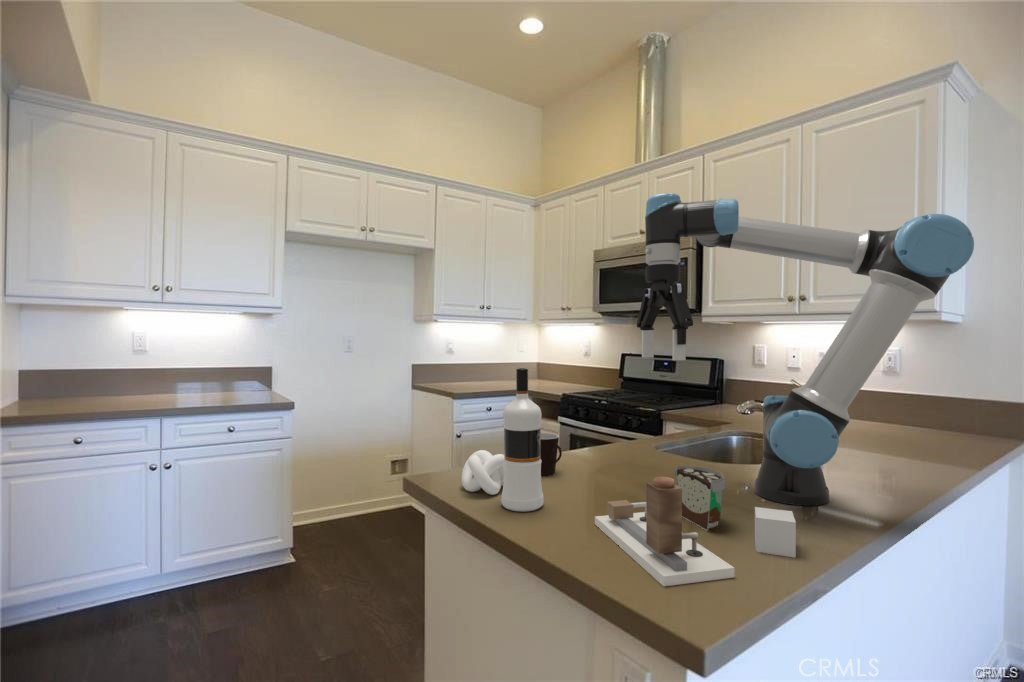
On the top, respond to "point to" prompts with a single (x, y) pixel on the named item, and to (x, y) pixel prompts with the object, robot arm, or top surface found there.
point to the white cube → (775, 532)
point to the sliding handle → (665, 517)
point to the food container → (701, 495)
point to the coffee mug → (549, 453)
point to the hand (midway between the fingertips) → (662, 359)
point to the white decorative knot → (483, 472)
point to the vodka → (522, 450)
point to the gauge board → (663, 567)
